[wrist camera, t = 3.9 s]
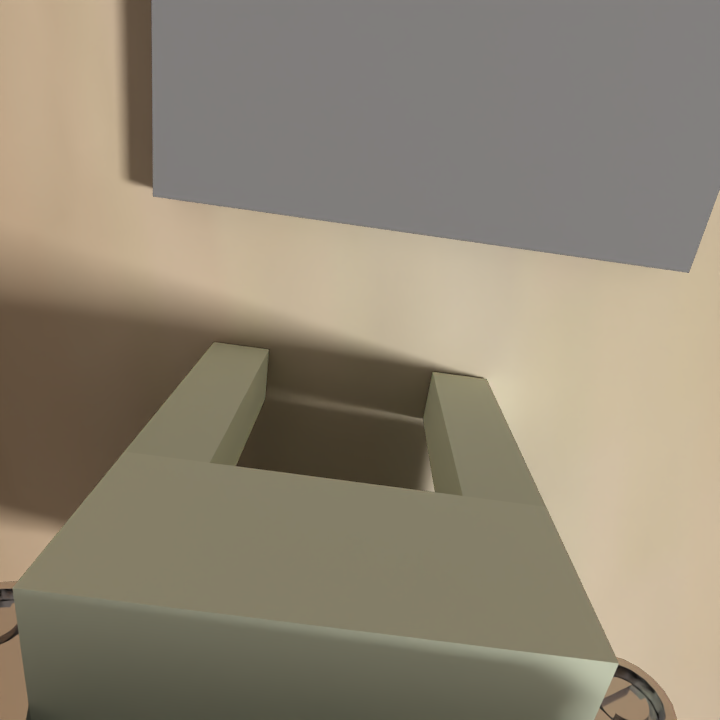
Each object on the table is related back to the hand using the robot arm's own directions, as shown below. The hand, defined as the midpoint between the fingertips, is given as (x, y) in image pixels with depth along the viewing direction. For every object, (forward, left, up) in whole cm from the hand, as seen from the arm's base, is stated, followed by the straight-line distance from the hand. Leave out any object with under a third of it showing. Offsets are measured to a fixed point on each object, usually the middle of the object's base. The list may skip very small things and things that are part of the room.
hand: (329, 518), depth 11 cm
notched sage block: (0, 0, -2) cm, 2 cm away
